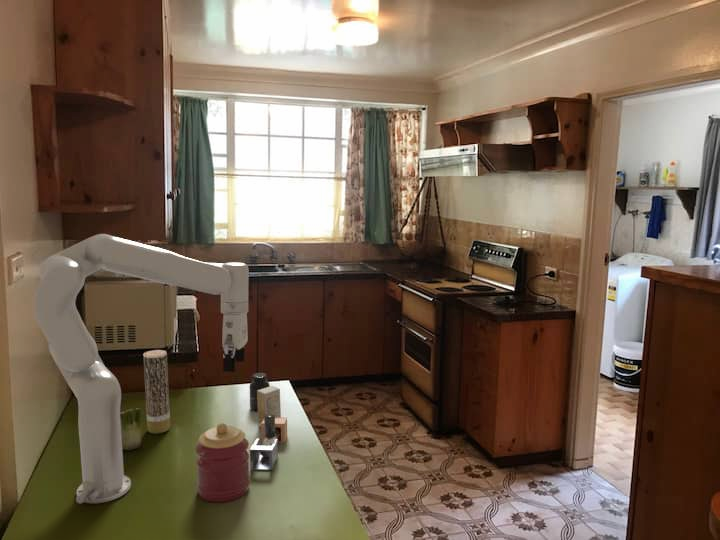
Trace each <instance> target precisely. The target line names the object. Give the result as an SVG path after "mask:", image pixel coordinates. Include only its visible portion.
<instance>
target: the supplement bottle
mask: <svg viewBox="0 0 720 540" xmlns="http://www.w3.org/2000/svg"><path fill="white" fill-rule="evenodd" d="M267 376H268V375H267V374H266V373H265V372H256V373H253V374H252V377H251V378H252V379H251V383H250V384H249V407H250V410H251V411H253V412H257V413H258V403H257V390H260V389H263V388H266V387H269V386H271V385H270V383H269V381H268V377H267Z"/></svg>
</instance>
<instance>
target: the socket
mask: <svg viewBox="0 0 720 540" xmlns="http://www.w3.org/2000/svg"><path fill="white" fill-rule="evenodd" d="M275 427H276V428H278V429H279V431H280V435H279V437H278V440H277V443H278V444H279V443H280V444H284V443H286V441H287V438H288V417H281V418H278V417H275ZM260 429H261V430H260V431H261V443H263V441H264V439H265V422H264V419H263V421H262V423H261V427H260Z"/></svg>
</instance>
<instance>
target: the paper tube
mask: <svg viewBox="0 0 720 540" xmlns="http://www.w3.org/2000/svg"><path fill="white" fill-rule="evenodd" d="M143 370H144V371H143V374H144V388H145V389H144V391H145V407H146V408H145V410H146V424H147V431H148V433H150V434H154V435H155V434H157V435H158V434H164V433H166V432H167V431H169V430H170V428H171V412H170V394H169V391H170V390H169V389H170V388H169V374H168V373H169V371H168V354H167V350H164V349H163V350H162V349H154V350H148V351H145V352H144V353H143Z"/></svg>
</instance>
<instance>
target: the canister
mask: <svg viewBox="0 0 720 540" xmlns="http://www.w3.org/2000/svg"><path fill="white" fill-rule="evenodd" d="M248 448H249V441H248V440H247V438H246V434H245V432H244V431H243V430H242V429H239V428H237V427H235V426H233V425H227V424H225V423H223V422H221V423H218V425H217V426H214V427H211V428H209V429H207V430H206V431H205V432H203V433H202V434H200V436H199V437H198V443H197V445H196V446H195V452H196V454H197V458H196V461H195V462H196V467H197V468H196V470H197V473H196V474H197V482H196V487H197V488H196V489H197V492H198V495H199V497H200V498H202V499H203V500H205V501H207V502H212V503H213V502H214V503H224V502H230V501H233V500H236V499H238V498H241V497H242V496H244V495H245V494H246V493H247V492H248V491H249V489H250V488H249V487H250V480H251V478H250V475H249V474H250V472H249V471H250V469H249V466H250V464H249V463H250V461H249V460H250V453H248Z"/></svg>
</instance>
